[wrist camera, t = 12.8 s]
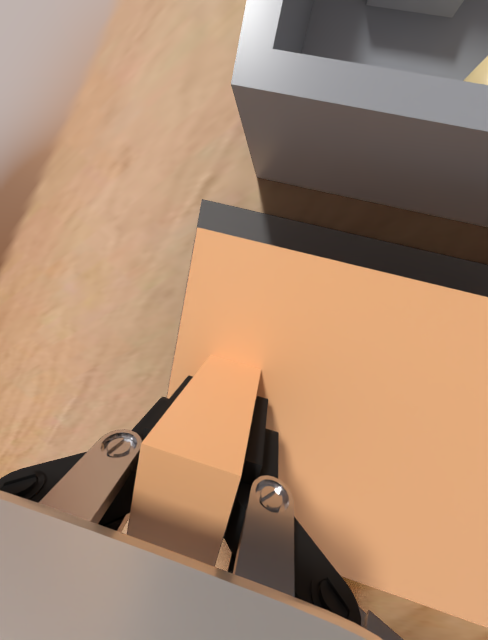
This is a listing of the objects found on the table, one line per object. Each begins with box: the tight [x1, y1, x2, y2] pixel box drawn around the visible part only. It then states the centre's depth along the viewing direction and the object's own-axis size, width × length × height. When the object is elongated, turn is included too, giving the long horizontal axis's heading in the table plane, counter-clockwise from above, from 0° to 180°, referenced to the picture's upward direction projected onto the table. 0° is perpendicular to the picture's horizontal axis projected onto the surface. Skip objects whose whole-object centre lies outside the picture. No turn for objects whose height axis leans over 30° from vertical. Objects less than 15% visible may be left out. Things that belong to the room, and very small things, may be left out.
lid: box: [127, 227, 488, 628], centre depth 10 cm, size 22×16×8 cm
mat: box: [167, 199, 488, 394], centre depth 17 cm, size 26×20×1 cm
